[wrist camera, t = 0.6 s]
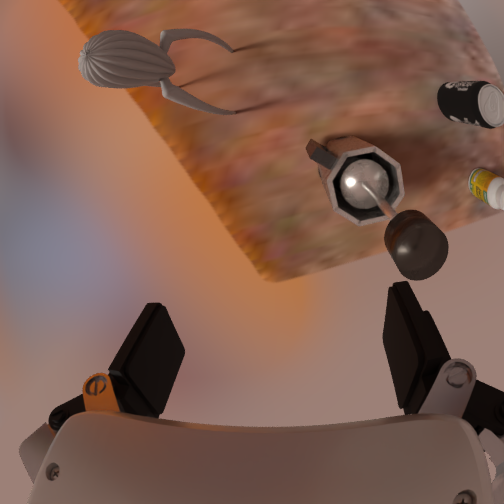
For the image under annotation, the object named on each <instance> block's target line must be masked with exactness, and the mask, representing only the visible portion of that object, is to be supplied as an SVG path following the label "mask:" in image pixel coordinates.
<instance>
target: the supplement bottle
mask: <svg viewBox="0 0 504 504" xmlns="http://www.w3.org/2000/svg"><path fill="white" fill-rule="evenodd" d="M468 184H469V189H470V191H471V193H472V194H473V195H474V196H476V197H477V198H479V199H480V200H482V201H484V202H485V203H486V204H488V205H489V206H491V207H492V208H494V209H502V210H504V178H502V177H500V176H498V175H496V174H493V173H491V172H489V171H487V170H485V169H482V168H477V169H475V170H473V171H472V173H471V174H470V177H469V182H468Z"/></svg>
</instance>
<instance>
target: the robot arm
mask: <svg viewBox="0 0 504 504" xmlns="http://www.w3.org/2000/svg"><path fill="white" fill-rule="evenodd" d="M383 344H384V348H385V351H386V355H387V359H388V363H389V367H390V371H391V375H392V379H393V383H394V387H395V392H396V396H397V401H398V405H399V408H400V409H402V408H403V409H404V413H405V415H401V416H394V417H386V418H380V419H374V420H366V421H357V422H348V423H339V424H329V425H314V426H296V427H244V426H223V425H209V424H199V423H188V422H180V421H173V420H166V419H159V415H160V414H162V413H163V411H164V409H165V406H166V403H167V401H168V398H169V395H170V392H171V390H172V387H173V384H174V381H175V379H176V376H177V374H178V371H179V368H180V365H181V363H182V360H183V357H184V355H185V349H184V346H183V344H182V342H181V340H180V338H179V336H178V333H177V331H176V329H175V327H174V325H173V323H172V321H171V318H170V316H169V314H168V311H167V309H166V307H165V306H163V305H162V304H161V303H147V305H146V306H145V308H144V309H143V311H142V313H141V314H140V316H139V318H138V319H137V321H136V323H135V324H134V326H133V327H132V329H131V331H130V332H129V334H128V336H127V337H126V339H125V341H124V343H123V344H122V346H121V348H120V349H119V351H118V353H117V355H116V356H115V358H114V360H113V362H112V363H111V365H110V367H109V369H108V370H109V374H108V375H107V374H105V373H97V374H94V375H92V376H90V377H89V378H88V379H87V380H86V382H85V383H84V385H83V390H82V391H83V394H81V395H79V396H77V397H76V398H74V399H72V400H70V401H68V402H66V403H64V404H62V405H60V406H58V407H56V408H55V409H54V410H53V411H52V412H51V414H50V416H49V424H47V423H46V422H45V423H44V424H43V425H42V426H41V427H40V428H38V429H37V430H36V431H35V432H34V433H33V434H31V435H30V436H29V437H28V438H27V439H26V440H24V441H23V442H22V444H21V446H20V449H19V453H20V457H21V459H22V461H23V464H24V466H25V468H26V470H27V472H28V474H29V476H30V478H31V480H32V482H33V484H34V485H33V487H32V490H31V493H30V496H29V499H28V502H27V504H504V392H503V391H500V390H498V389H496V388H494V387H492V386H489V385H487V384H485V383H483V382H480V381H479V380H476V371H475V369H474V367H473V366H472V365H471V364H470V363H469V362H468V361H466V360H463V359H451V357H450V355H449V353H448V351H447V348H446V346H445V344H444V342H443V339H442V337H441V335H440V333H439V331H438V329H437V327H436V325H435V322H434V320H433V318H432V316H431V314H430V313H429V311H423V310H422V308H421V307H420V304H419V302H418V301H417V298H416V297H415V294H414V293H413V291H412V289H411V287H410V285H409V283H408V282H407V281H402V282H395V283H393V286H392V287H389V290H388V299H387V307H386V315H385V322H384V330H383ZM408 414H409V415H408ZM485 451H486V452H487V453H488V454H489V455H490V456H491V457H490V458H489V459H490V460H491V461H492V462H493V463H494V465H495V467H496V476H495V479H494V480H493V482H492V483H491V478H490V473H489V469H488V464H487V460H486V456H485V453H484V452H485ZM457 494H458V495H457Z"/></svg>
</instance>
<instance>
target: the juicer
mask: <svg viewBox="0 0 504 504" xmlns="http://www.w3.org/2000/svg"><path fill="white" fill-rule="evenodd" d="M186 38H201V39H206V40H209V41H212V42H214V43H216V44H218V45H220V46H222V47H224V48H225V49H227V50H228V51H230V52H231V53H232V52H233V49H232V48H231V47H230V46H229V45H228V44H227V43H225V42H224V41H223V40H221V39H220V38H218V37H216V36H214V35H212V34H210V33H207V32H204V31H200V30H194V29H171V30H163V31H162V32H161V36H160V47H159V46H158V45H156V44H155V43H153V42H151V41H149V40H148V39H146V38H144V37H142V36H140V35H138V34H136V33H133V32H129V31H124V30H108V31H104V32H101V33H100V34H98V35H95V36H93V37H92V38H91V39H90V40H89V41H88V42H87V43H85V44H84V46H83V50H81V52H80V55H81V56H80V57H79V59H78V62H79V71H81V74H82V76H83V77H84V79H86V80H88V81H89V82H90V83H92V84H93V85H96V86H99V87H109V88H133V87H139V86H155V87H161V88H162V94H163V96H164V97H165V98H167V99H169V100H172V101H174V102H177V103H179V104H182V105H185V106H187V107H190V108H193V109H197V110H200V111H204V112H208V113H213V114H221V115H233V114H236V112H235V111H229V110H223V109H220V108H217V107H214V106H211V105H209V104H207V103H205V102H203V101H201V100H199V99H197V98H196V97H194V96H192V95H191V94H189V93H187V92H186V91H184V90H182V89H181V88H180V87H179V86H175V85H173V84H172V83H171V82H170V80H169V78H168V77H170V76H171V75H173V74H174V73H175V65H174V63H173V62H172V60H171V58H170V57H169V56H168V55H167V52H168V50H169V47H170V45H171V43H172V42H173V41H175V40H180V39H186ZM159 81H160V82H159Z"/></svg>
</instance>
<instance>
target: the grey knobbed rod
mask: <svg viewBox="0 0 504 504" xmlns="http://www.w3.org/2000/svg"><path fill="white" fill-rule="evenodd" d="M388 187H389V181H388V176H387V174H386V172H385V170H384V169H383V168H382V167H381V166H380V165H379V164H378V163H376V162H375V161H373V160H370V159H357V160H354V161H352V162H351V163H349V164H348V165H347V166H346V167H345V168H344V170H343V171H342V174H341V176H340V189H341V192H342V195H343V196H344V198H345V199H346V201H347V202H348V203H349V204H351V205H352V206H354V207H357V208H360V209H368V208H372V207H374V206H376V205H378V206H379V207H380V209H381V210H382V211H383V212H384V214H385V215H386V216H387V217H388V219H389V220H390V222H389V224H388V226H387V228H386V231H385V236H384V241H385V246H386V248H387V250H388V252H389V253H390V255H391V257H392V258H393V260H394V262H395V264H396V266H397V267H398V269H399V271H400V272H401V274H402V275H403V276H405V277H406V278H408V279H410V280H424V279H427V278H429V277H431V276H432V275H434V274H435V273H436V272H438V271H439V269H440V268H441V267H442V265H443V264H444V262H445V260H446V258H447V255H448V241H447V238H446V236H445V234H444V233H443V232H442V231H441V230H440V229H439V228H438V227H437V226H436V225H435V224H434V223H433V222H432V221H431V220H430V219H429V218H428V217H427V216H426V215H424V214H423V213H422V212H420V211H417V210H406V211H403V212H400V213H399V214H397V213H396V211H395V210H394V209H393V208H392V207H391V206H390V205H389V204H388V203H387V202H386V201H385V199H384V198H385V196H386V194H387V191H388Z"/></svg>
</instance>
